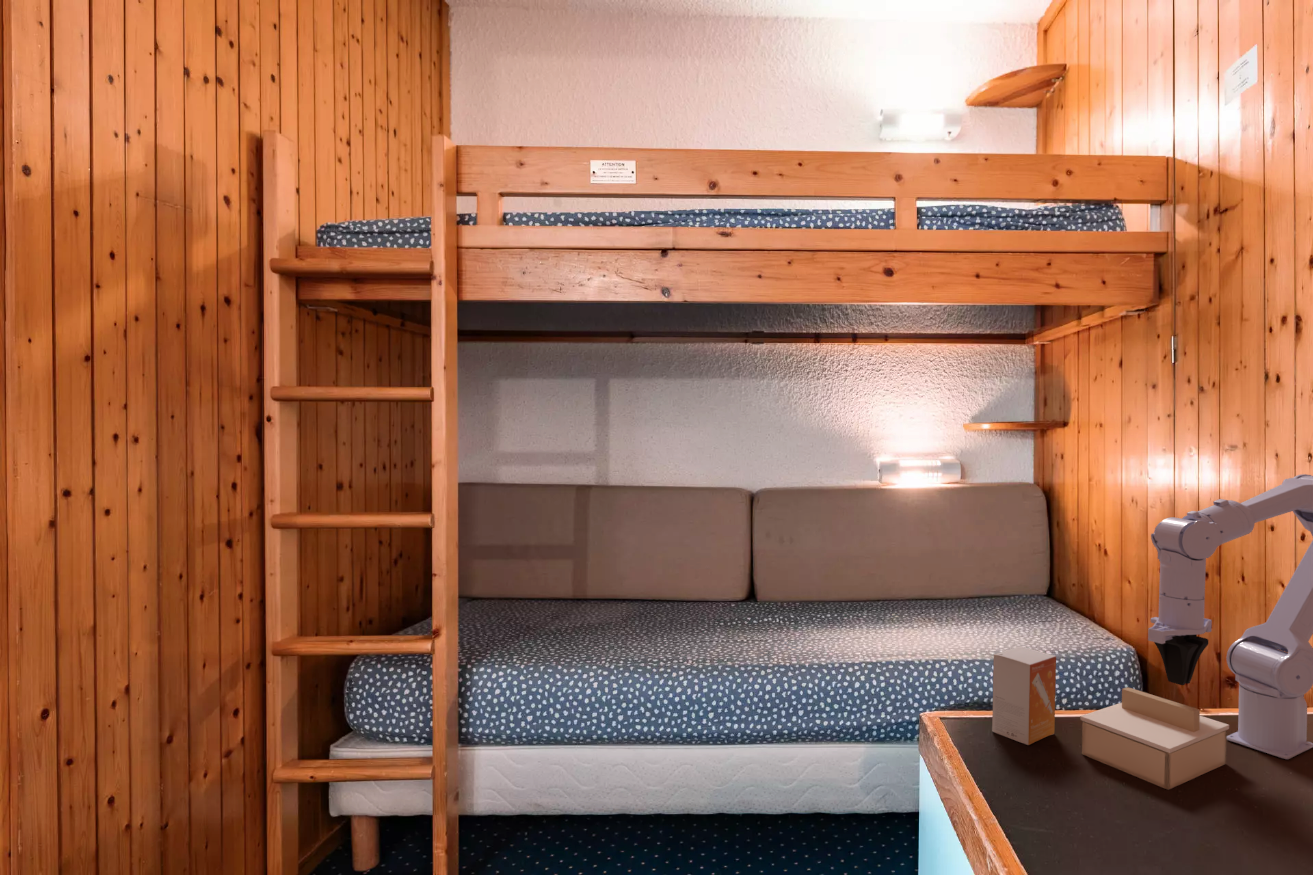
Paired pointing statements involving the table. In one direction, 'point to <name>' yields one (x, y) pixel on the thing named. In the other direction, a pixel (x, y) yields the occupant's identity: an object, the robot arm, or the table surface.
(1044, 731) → the small box
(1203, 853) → the table surface
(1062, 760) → the table surface
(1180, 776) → the box
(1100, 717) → the lid
